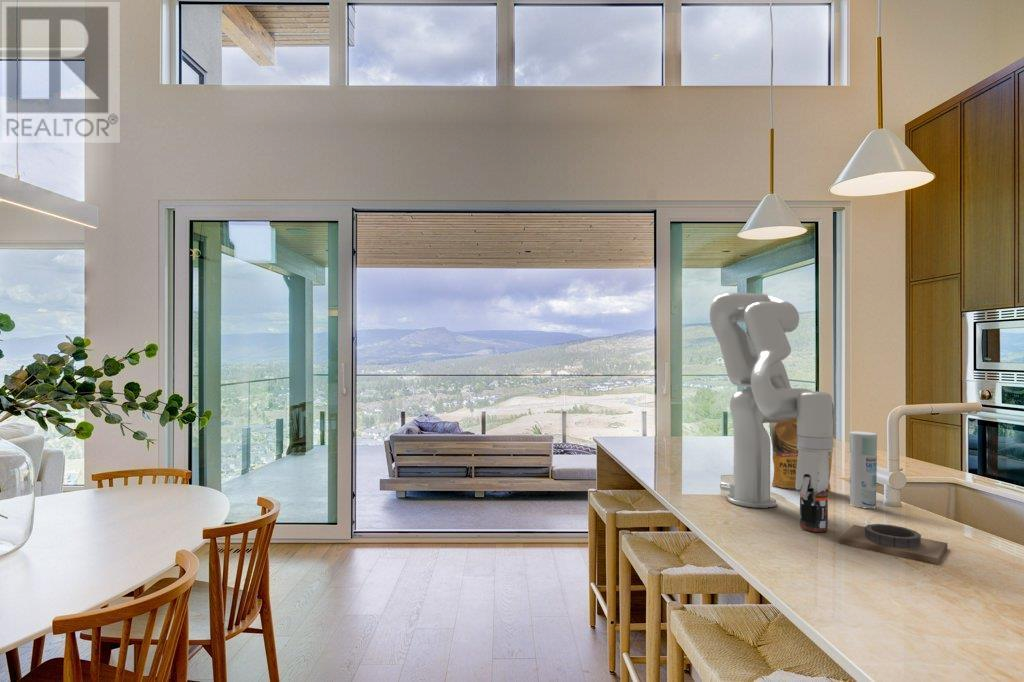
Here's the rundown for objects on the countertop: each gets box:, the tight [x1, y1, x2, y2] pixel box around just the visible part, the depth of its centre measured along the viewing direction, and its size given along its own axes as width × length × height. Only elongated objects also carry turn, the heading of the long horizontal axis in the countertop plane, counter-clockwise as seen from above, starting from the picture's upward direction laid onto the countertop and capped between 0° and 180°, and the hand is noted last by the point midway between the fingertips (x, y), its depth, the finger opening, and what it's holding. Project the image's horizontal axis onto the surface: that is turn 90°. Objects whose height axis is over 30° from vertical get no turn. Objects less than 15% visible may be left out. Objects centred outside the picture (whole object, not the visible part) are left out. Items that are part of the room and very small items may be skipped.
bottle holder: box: [837, 523, 948, 565], centre depth 128 cm, size 18×13×3 cm
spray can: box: [849, 430, 878, 509], centre depth 161 cm, size 6×6×20 cm
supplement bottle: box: [799, 489, 829, 533], centre depth 139 cm, size 6×6×11 cm
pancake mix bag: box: [769, 401, 835, 491], centre depth 180 cm, size 7×19×28 cm, turn 71°
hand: (813, 518), depth 139 cm, fingers closed on supplement bottle, 6 cm apart
